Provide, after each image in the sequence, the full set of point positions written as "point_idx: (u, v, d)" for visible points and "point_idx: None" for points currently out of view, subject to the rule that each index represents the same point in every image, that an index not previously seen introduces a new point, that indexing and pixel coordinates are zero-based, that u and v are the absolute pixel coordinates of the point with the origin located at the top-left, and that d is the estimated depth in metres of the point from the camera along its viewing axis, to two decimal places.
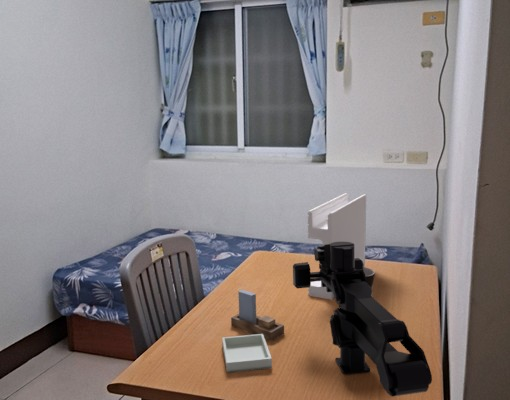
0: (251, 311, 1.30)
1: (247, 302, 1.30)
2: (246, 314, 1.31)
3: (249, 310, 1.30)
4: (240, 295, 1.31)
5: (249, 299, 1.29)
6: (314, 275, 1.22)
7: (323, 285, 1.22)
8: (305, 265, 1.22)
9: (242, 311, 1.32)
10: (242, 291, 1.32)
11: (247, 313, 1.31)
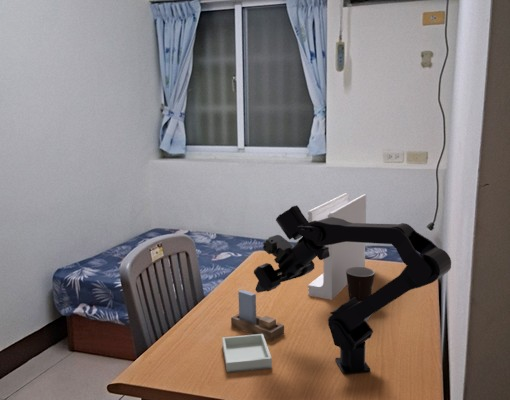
0: (251, 311, 1.30)
1: (247, 302, 1.30)
2: (246, 314, 1.31)
3: (249, 310, 1.30)
4: (240, 295, 1.31)
5: (249, 299, 1.29)
6: (277, 270, 1.16)
7: (290, 275, 1.17)
8: (264, 264, 1.16)
9: (242, 311, 1.32)
10: (242, 291, 1.32)
11: (247, 313, 1.31)
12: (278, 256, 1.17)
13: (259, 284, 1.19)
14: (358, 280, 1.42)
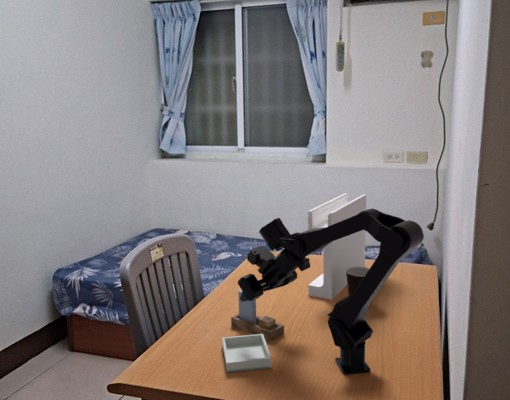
0: (251, 311, 1.30)
1: (247, 302, 1.30)
2: (246, 314, 1.31)
3: (249, 310, 1.30)
4: (240, 295, 1.31)
5: None
6: (260, 281, 1.21)
7: (273, 285, 1.21)
8: (248, 274, 1.20)
9: (242, 311, 1.32)
10: None
11: (247, 313, 1.31)
12: (261, 267, 1.21)
13: (243, 294, 1.23)
14: (358, 280, 1.42)
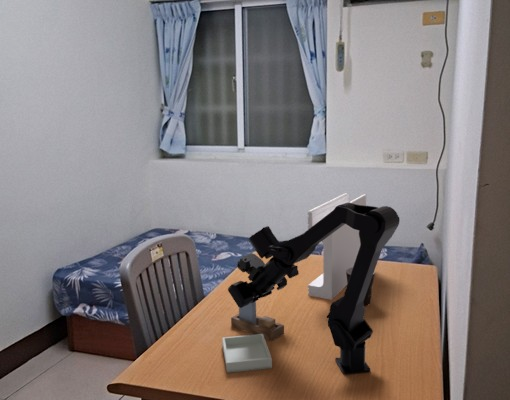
0: (251, 311, 1.30)
1: None
2: (246, 314, 1.31)
3: (249, 310, 1.30)
4: None
5: None
6: (250, 288, 1.23)
7: (263, 291, 1.24)
8: (238, 282, 1.23)
9: (242, 311, 1.32)
10: None
11: (247, 313, 1.31)
12: (251, 274, 1.24)
13: None
14: None
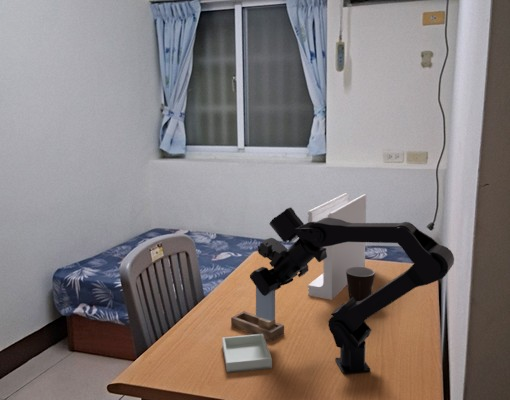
0: (270, 301, 1.21)
1: None
2: (264, 304, 1.22)
3: (267, 300, 1.21)
4: None
5: None
6: (273, 274, 1.14)
7: (287, 278, 1.14)
8: (260, 268, 1.13)
9: (259, 301, 1.23)
10: None
11: (265, 303, 1.22)
12: (274, 259, 1.15)
13: None
14: (358, 280, 1.42)
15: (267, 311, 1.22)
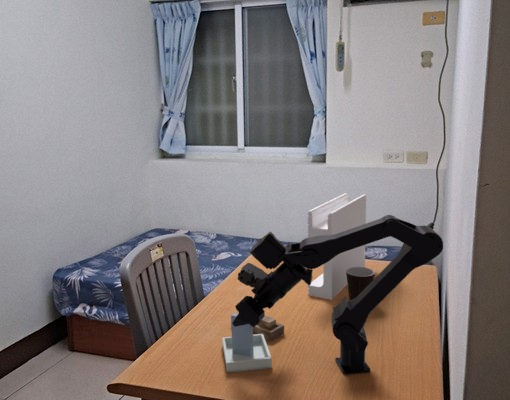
0: (249, 336, 1.14)
1: (243, 326, 1.14)
2: (242, 340, 1.15)
3: (246, 335, 1.15)
4: (234, 319, 1.15)
5: None
6: (258, 302, 1.08)
7: (271, 305, 1.09)
8: (245, 297, 1.06)
9: (236, 337, 1.16)
10: (235, 314, 1.16)
11: (243, 339, 1.15)
12: (256, 286, 1.09)
13: (239, 317, 1.10)
14: (358, 280, 1.42)
15: (246, 347, 1.15)
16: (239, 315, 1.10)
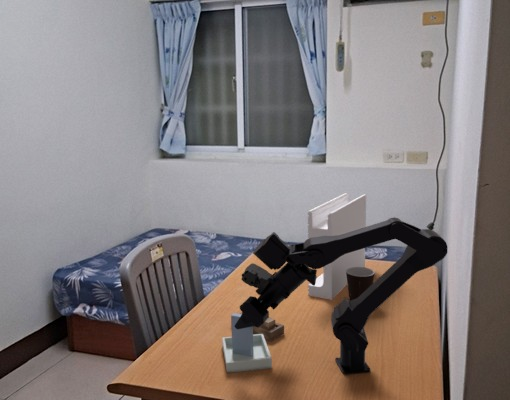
0: (249, 336, 1.14)
1: None
2: (242, 340, 1.15)
3: (246, 335, 1.15)
4: (234, 319, 1.15)
5: None
6: (262, 303, 1.07)
7: (275, 305, 1.09)
8: (249, 298, 1.06)
9: (236, 337, 1.16)
10: (235, 314, 1.16)
11: (243, 339, 1.15)
12: (261, 287, 1.08)
13: (241, 320, 1.09)
14: (358, 280, 1.42)
15: (246, 347, 1.15)
16: (241, 318, 1.08)
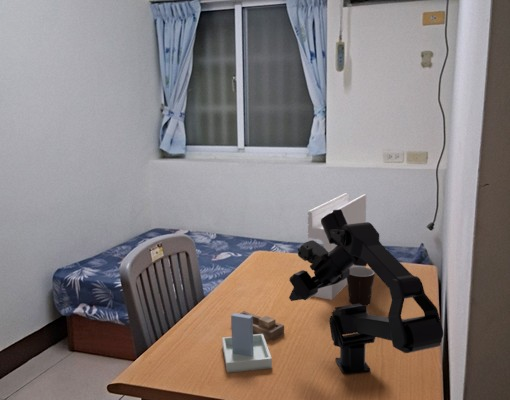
0: (249, 336, 1.14)
1: (243, 326, 1.14)
2: (242, 340, 1.15)
3: (246, 335, 1.15)
4: (234, 319, 1.15)
5: (246, 322, 1.14)
6: (313, 278, 1.11)
7: (327, 282, 1.11)
8: (300, 271, 1.10)
9: (236, 337, 1.16)
10: (235, 314, 1.16)
11: (243, 339, 1.15)
12: (314, 263, 1.12)
13: (294, 292, 1.14)
14: (358, 280, 1.42)
15: (246, 347, 1.15)
16: (294, 290, 1.13)
